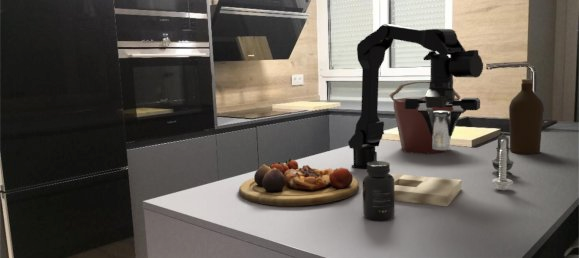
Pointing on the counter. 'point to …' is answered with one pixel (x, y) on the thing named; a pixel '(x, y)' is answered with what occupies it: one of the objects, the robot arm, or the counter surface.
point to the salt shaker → (497, 161)
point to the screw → (502, 169)
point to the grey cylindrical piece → (441, 130)
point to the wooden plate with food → (298, 185)
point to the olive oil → (525, 120)
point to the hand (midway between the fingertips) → (441, 135)
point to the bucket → (415, 125)
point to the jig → (425, 189)
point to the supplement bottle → (378, 192)
